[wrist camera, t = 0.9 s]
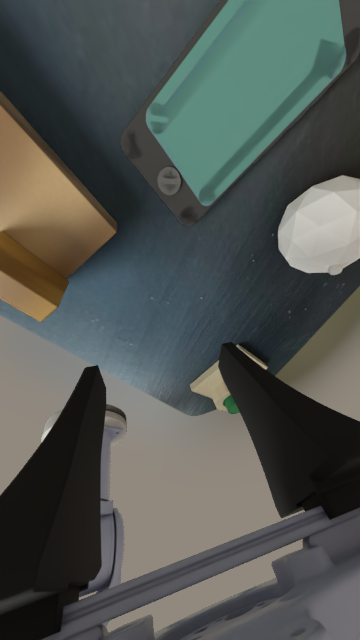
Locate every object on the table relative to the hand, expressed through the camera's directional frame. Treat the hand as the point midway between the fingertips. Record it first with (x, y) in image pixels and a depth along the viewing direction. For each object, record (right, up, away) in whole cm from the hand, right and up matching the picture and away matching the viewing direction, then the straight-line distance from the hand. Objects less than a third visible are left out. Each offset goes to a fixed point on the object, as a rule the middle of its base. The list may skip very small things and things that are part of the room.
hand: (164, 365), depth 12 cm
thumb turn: (-9, +6, +2) cm, 11 cm away
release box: (+9, -6, +20) cm, 23 cm away
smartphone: (+4, +17, +2) cm, 18 cm away
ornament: (+12, +12, +8) cm, 19 cm away
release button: (+9, -10, +20) cm, 24 cm away
